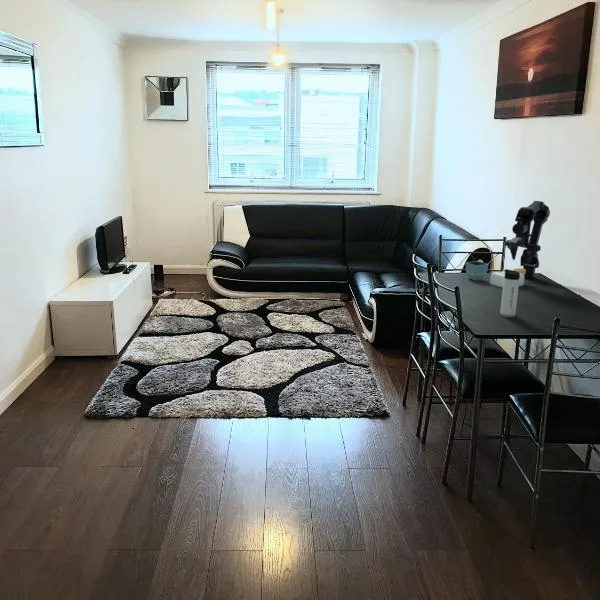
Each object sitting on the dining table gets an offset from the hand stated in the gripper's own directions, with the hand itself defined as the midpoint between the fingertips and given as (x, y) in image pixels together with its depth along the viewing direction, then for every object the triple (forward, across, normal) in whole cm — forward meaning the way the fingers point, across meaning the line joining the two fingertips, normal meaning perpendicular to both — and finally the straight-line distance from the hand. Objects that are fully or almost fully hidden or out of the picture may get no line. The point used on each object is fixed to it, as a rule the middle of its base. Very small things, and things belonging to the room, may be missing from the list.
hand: (520, 261), depth 322 cm
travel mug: (+11, +38, -52) cm, 66 cm away
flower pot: (+12, -16, -15) cm, 25 cm away
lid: (+6, 0, -7) cm, 9 cm away
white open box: (+11, 0, -9) cm, 15 cm away
